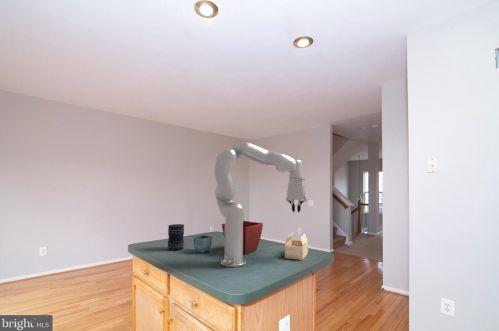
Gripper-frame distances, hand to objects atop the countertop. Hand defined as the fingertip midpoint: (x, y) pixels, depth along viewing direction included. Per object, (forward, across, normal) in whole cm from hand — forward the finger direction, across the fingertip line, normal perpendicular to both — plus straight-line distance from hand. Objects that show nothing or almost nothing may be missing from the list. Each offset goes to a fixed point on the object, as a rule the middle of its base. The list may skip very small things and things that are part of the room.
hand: (296, 211), depth 144 cm
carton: (+25, 0, 0) cm, 25 cm away
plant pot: (+25, +33, +4) cm, 42 cm away
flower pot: (+25, +55, +15) cm, 62 cm away
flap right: (+16, -4, 0) cm, 16 cm away
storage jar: (+25, +74, +17) cm, 80 cm away
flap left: (+16, +4, 0) cm, 16 cm away
